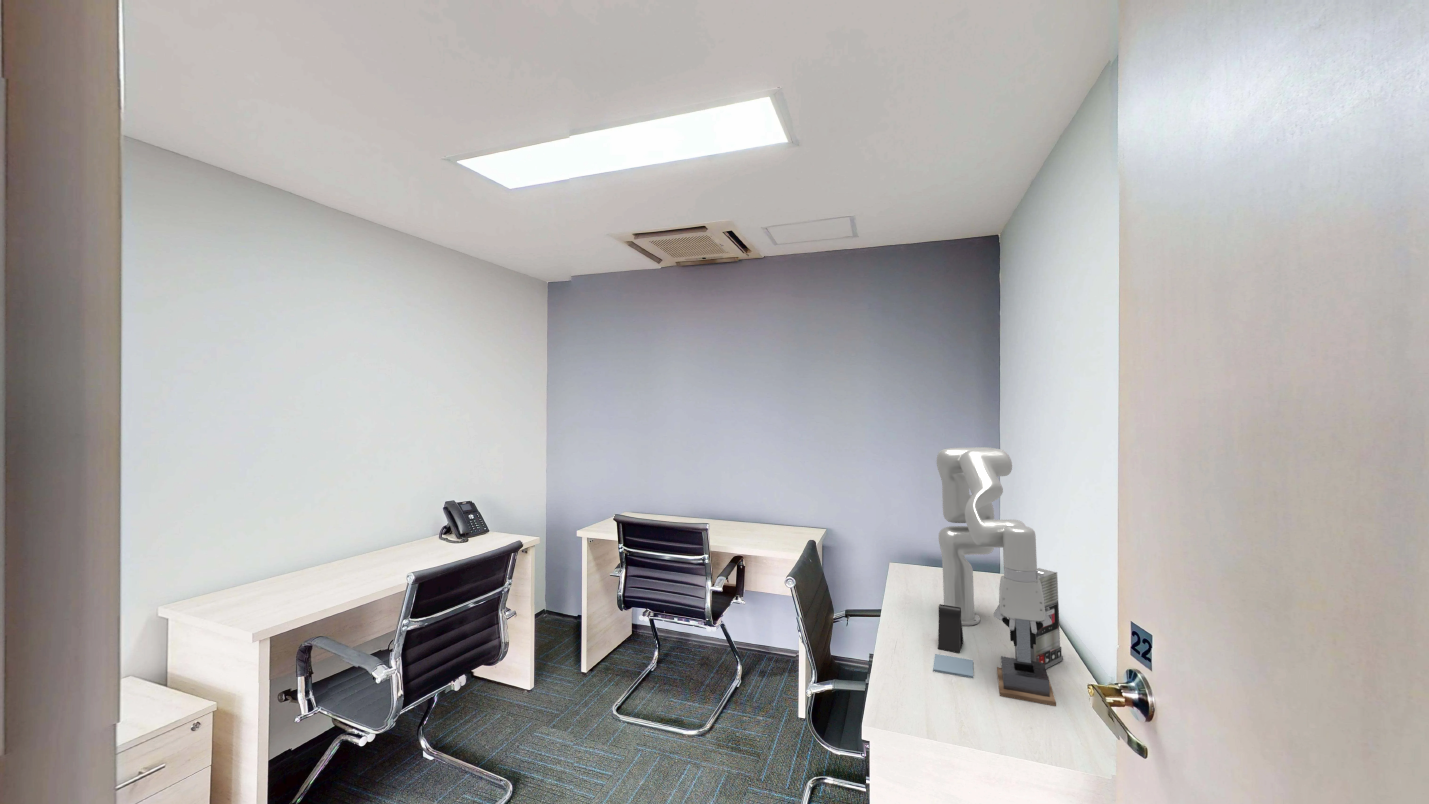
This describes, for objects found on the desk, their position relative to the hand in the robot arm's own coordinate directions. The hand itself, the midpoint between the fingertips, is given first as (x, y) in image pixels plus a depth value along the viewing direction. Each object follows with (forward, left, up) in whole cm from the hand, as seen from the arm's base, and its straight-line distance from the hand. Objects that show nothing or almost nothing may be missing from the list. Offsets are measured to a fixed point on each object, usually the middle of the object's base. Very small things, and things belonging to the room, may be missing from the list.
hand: (1023, 644), depth 137 cm
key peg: (0, 0, -4) cm, 4 cm away
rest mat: (-5, -17, -11) cm, 21 cm away
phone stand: (-19, -18, -11) cm, 28 cm away
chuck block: (0, 0, -11) cm, 11 cm away
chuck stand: (0, 0, -11) cm, 11 cm away
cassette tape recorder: (-16, +5, -11) cm, 20 cm away
